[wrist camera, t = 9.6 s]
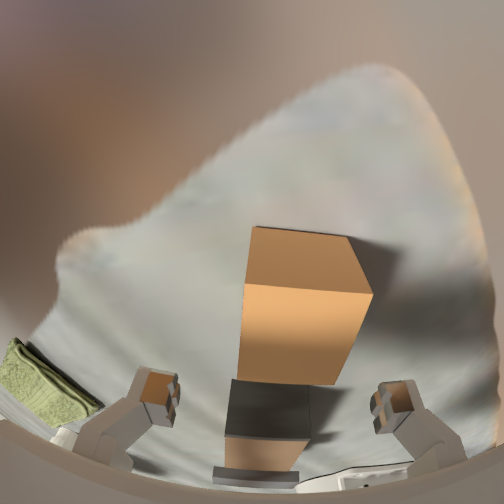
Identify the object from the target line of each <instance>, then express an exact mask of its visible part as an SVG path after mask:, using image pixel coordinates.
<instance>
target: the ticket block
mask: <svg viewBox="0 0 504 504" xmlns="http://www.w3.org/2000/svg"><path fill="white" fill-rule="evenodd" d="M310 440H311V425H310V411H309V398H308V385H301V384H280V383H265V382H253V381H242V380H235V379H232V382H231V390H230V397H229V405H228V412H227V420H226V428H225V467H217V466H214V469H213V484H219V485H227V486H238V487H251V488H272V489H293V488H294V487H295V486H296V485H297V484H298V483H299V471H289V470H290V469H291V467H292V466H293V464H294V463H295V461H296V460H297V458H298V457H299V455H300V454H301V452H302V451H303V449H304V448H305V446H306V445H307V443H308V442H309V441H310Z"/></svg>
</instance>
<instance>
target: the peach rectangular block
mask: <svg viewBox="0 0 504 504" xmlns="http://www.w3.org/2000/svg"><path fill="white" fill-rule="evenodd" d="M372 297H373V292H372V290H371V288H370V285H369V283H368V281H367V279H366V277H365V274H364V272H363V270H362V268H361V266H360V264H359V262H358V259H357V257H356V255H355V253H354V251H353V249H352V247H351V245H350V243H349V241H348V239H347V237H341V236H333V235H324V234H315V233H306V232H297V231H288V230H278V229H268V228H259V227H252V234H251V242H250V249H249V257H248V264H247V272H246V279H245V288H244V300H243V312H242V324H241V336H240V348H239V360H238V373H237V380H242V381H253V382H265V383H280V384H301V385H334V384H335V382H336V380H337V378H338V376H339V374H340V372H341V370H342V368H343V366H344V364H345V361H346V359H347V357H348V355H349V353H350V350H351V348H352V346H353V344H354V341H355V339H356V337H357V334H358V332H359V330H360V327H361V325H362V322H363V320H364V317H365V315H366V312H367V310H368V307H369V305H370V302H371V299H372Z"/></svg>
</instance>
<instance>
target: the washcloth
mask: <svg viewBox="0 0 504 504" xmlns="http://www.w3.org/2000/svg"><path fill="white" fill-rule="evenodd" d="M8 345H9V347H8V349H7V353H6V356H5V358H4V361H3V364H2V365H1V367H0V383H1V385H2V386H3V387H4V388H5V389H6V390H8V391H9V393H11V394H12V395H13V396H14V397H16V399H17V400H18V401H19V402H22V403H23V404H24V405H25V406H27V407H28V408H29V409H30V410H31V411H32V412H34V413H35V415H36V416H38V417H39V418H40V419H41V420H43V421H44V422H45V423H46V424H48V425H49V426H50V427H52V428H58V427H60V426H61V425H65V424H66V423H70V422H73V421H75V420H81V419H84V418H86V417H89V416H90V415H91V414H94V413H95V412H96V411H97V410H98V409H99V406H98V405H97V404H95V403H94V402H95V400H93V399H91V398H90V397H88V396H87V395H85V394H84V393H82V392H81V391H80V390H78V389H77V388H75V387H74V386H72V385H71V384H69V383H68V382H67V381H66V380H65V379H63V378H62V377H61V376H60V375H58V374H57V373H56V372H54V371H53V370H52V369H50V368H49V367H48V366H47V365H45V364H44V363H43V362H41V361H40V360H38V358H37V357H35V356H34V355H33V354H32V353H31V352H30V351H29V350H28V349H27V348H26V347H25V345H24V344H23V343H22V342H21V341H20V340H19V338H17V337H15V338H14V339H12V341H10V342H9V344H8Z"/></svg>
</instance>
